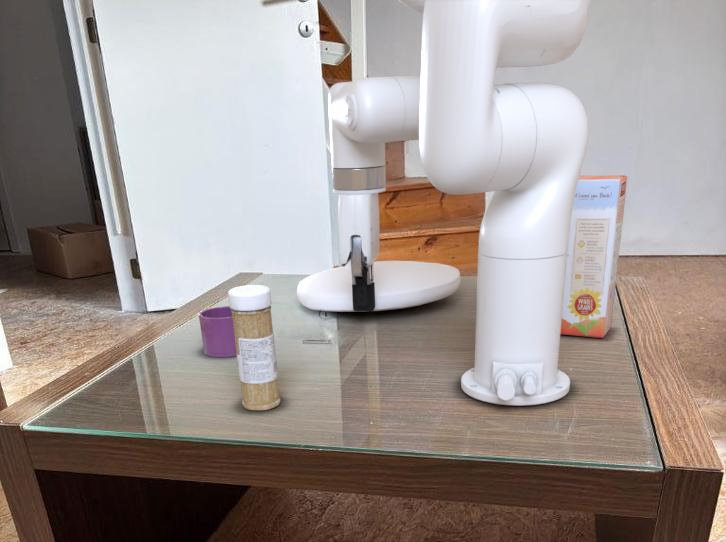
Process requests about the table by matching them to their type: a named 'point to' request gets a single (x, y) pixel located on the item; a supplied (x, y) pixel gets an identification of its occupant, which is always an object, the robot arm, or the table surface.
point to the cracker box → (593, 255)
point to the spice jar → (255, 346)
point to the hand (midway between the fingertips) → (364, 309)
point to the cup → (218, 332)
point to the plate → (381, 286)
